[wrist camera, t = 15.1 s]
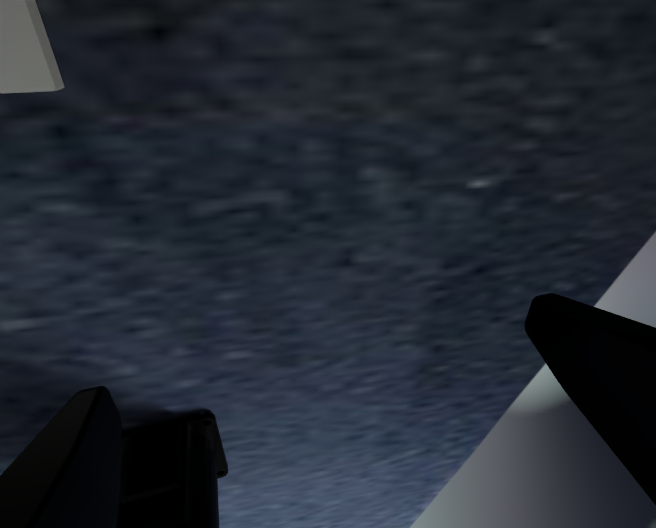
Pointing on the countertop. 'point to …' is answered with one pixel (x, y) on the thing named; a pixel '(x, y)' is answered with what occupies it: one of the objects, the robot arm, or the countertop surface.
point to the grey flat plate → (25, 50)
